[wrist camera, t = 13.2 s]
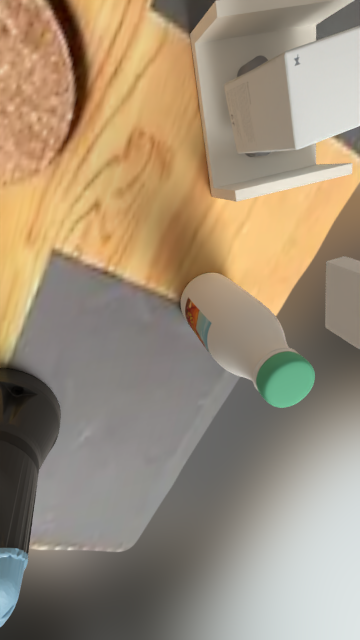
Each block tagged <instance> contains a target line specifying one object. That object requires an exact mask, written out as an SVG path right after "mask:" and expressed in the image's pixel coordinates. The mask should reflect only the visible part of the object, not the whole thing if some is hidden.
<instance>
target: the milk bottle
mask: <svg viewBox="0 0 360 640" xmlns="http://www.w3.org/2000/svg"><path fill="white" fill-rule="evenodd" d="M181 311H182V314H183V316H184V318H185V319H186V321H187V322H188V324H189V325H190V327H191V328H192V330H193V331H194V332H195V334H196V335H197V337H198V338H199V340H200V341H201V342H202V344H203V345H204V346H205V348H206V349H207V351H208V352H209V353H210V354H211V356H212V357H213V358H214V359H215V361H216V362H217V363H218V364H220V365H221V366H222V367H223V368H224V369H226V370H227V371H229V372H231V373H233V374H235V375H238V376H241V377H245V378H248V379H250V380H252V381H253V384H254V386H255V388H256V389H257V390H258V391H259V393H260V394H261V395H262V397H263V398H264V399H265V400H266V401H267V402H268V403H269V404H271V405H273V406H275V407H281V408H282V407H289V406H292V405H294V404H296V403H298V402H299V401H301V400H302V399H303V398H304V397H305V396H306V395H307V394H308V393H309V391H310V390H311V388H312V386H313V384H314V379H315V373H314V369H313V367H312V366H311V364H310V363H309V362H308V361H307V360H306V359H305V358H304V357H302V356H301V355H299V354H298V353H297V352H296V351H295V350H293V349H291V348H289V347H288V345H287V343H286V339H285V335H284V331H283V329H282V326H281V324H280V322H279V321H278V319H277V318H276V316H275V315H274V314H273V313H272V312H271V311H270V310H269V309H268V308H267V307H266V306H265V305H263V304H262V303H261V302H260V301H258V300H257V299H256V298H254V297H253V296H252V295H250V294H249V293H248V292H247V291H245V290H244V289H242V288H241V287H240V286H238V285H237V284H236V283H234V282H233V281H231V280H230V279H229V278H227V277H225V276H224V275H222V274H219V273H205V274H202V275H199V276H197V277H196V278H194V279H193V280H192V281H191V282H189V284H188V285H187V286H186V288H185V289H184V291H183V294H182V297H181Z"/></svg>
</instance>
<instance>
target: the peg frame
mask: <svg viewBox="0 0 360 640" xmlns="http://www.w3.org/2000/svg"><path fill="white" fill-rule="evenodd" d="M352 1H354V0H217V1H215V2H214V3H213V5H212V6H211V7H210V9H209V10H208V11H207V13H206V14H205V15H204V16H203V18H202V19H201V20H200V22H199V23H198V24H197V26H196V27H195V28H194V29H193V31H192V32H191V33H190V39H191V46H192V54H193V61H194V69H195V76H196V83H197V91H198V98H199V106H200V113H201V121H202V128H203V136H204V143H205V150H206V158H207V165H208V173H209V180H210V188H211V195H212V197H215V198H220V199H226V200H231V201H240V200H245V199H249V198H253V197H257V196H261V195H265V194H270V193H274V192H278V191H282V190H286V189H291V188H295V187H299V186H303V185H307V184H311V183H316V182H320V181H324V180H328V179H332V178H336V177H341V176H345V175H349V174H352V163H347V164H319V165H316V143H314V144H311V145H309V146H306V147H303V148H301V149H298V150H287V151H272V152H255V153H243V154H238V152H237V148H236V144H235V139H234V134H233V129H232V124H231V119H230V114H229V109H228V104H227V99H226V94H225V89H224V84H225V83H227V82H229V81H231V80H233V79H235V78H237V77H240V76H242V75H244V74H246V73H247V72H249V71H251V70H253V69H255V68H257V67H258V66H260V65H262V64H263V63H265V62H267V61H268V60H270V59H272V58H274V57H275V56H277V55H279V54H281V53H283V52H285V51H287V50H290V49H293V48H296V47H299V46H302V45H305V44H308V43H311V42H314V41H316V24H318V23H319V22H321V21H323V20H324V19H326V18H327V17H329V16H330V15H332V14H334V13H335V12H337V11H338V10H340V9H341V8H343V7H344V6H346V5H348V4H349V3H351V2H352Z"/></svg>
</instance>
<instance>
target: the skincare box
mask: <svg viewBox="0 0 360 640" xmlns="http://www.w3.org/2000/svg"><path fill="white" fill-rule="evenodd" d="M224 89H225V94H226V99H227V104H228V109H229V114H230V119H231V124H232V129H233V134H234V139H235V144H236V148H237V152H238V154H243V153H255V152H272V151H287V150H298V149H301V148H303V147H306V146H309V145H311V144H314V143H317V142H319V141H322V140H324V139H327V138H330V137H332V136H335V135H337V134H340V133H342V132H345V131H348V130H350V129H353V128H356V127H358V126H360V26H357V27H354V28H351V29H349V30H346V31H343V32H340V33H337V34H334V35H331V36H328V37H326V38H323V39H320V40H317V41H314V42H311V43H308V44H305V45H302V46H299V47H296V48H293V49H290V50H287V51H285V52H283V53H281V54H279V55H277V56H275V57H274V58H272V59H270V60H268V61H267V62H265V63H263V64H262V65H260V66H258V67H257V68H255V69H253V70H251V71H249V72H247V73H246V74H244V75H242V76H240V77H237V78H235V79H233V80H231V81H229V82H227V83H225V84H224Z"/></svg>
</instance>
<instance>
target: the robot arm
mask: <svg viewBox="0 0 360 640" xmlns="http://www.w3.org/2000/svg"><path fill="white" fill-rule="evenodd" d="M325 327H326V328H327V329H329V330H330V331H332V332H333V333H335V334H337V335H338V336H340V337H341V338H343V339H345V340H346V341H347V342H349V343H350V344H352V345H354V346H355V347H357V348H358V349H360V261H358V260H355V259H352V258H348V257H345V256H344V257H341V258H337V259H334V260H330V261H327V262H326V316H325ZM60 418H61V412H60V406H59V403H58V401H57V399H56V397H55V395H54V394H53V392H52V391H51V390H50V389H49V388H48V387H47V386H46V385H45V384H44V383H43V382H41V381H40V380H38V379H36V378H35V377H33V376H31V375H28V374H26V373H23V372H20V371H16V370H12V369H5V368H0V627H1V626H2V625H3V624H4V623H5V622H6V620H7V619H8V618H9V616H10V614H11V613H12V611H13V609H14V608H15V605H16V602H17V600H18V596H19V592H20V586H21V582H22V577H23V572H24V569H25V568H26V565H27V562H28V550H29V542H30V535H31V527H32V519H33V511H34V503H35V496H36V488H37V480H38V473H39V469H40V467H41V466H42V464H43V462H44V460H45V458H46V457H47V455H48V453H49V452H50V450H51V449H52V447H53V446H54V444H55V442H56V440H57V437H58V434H59V428H60Z"/></svg>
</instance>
